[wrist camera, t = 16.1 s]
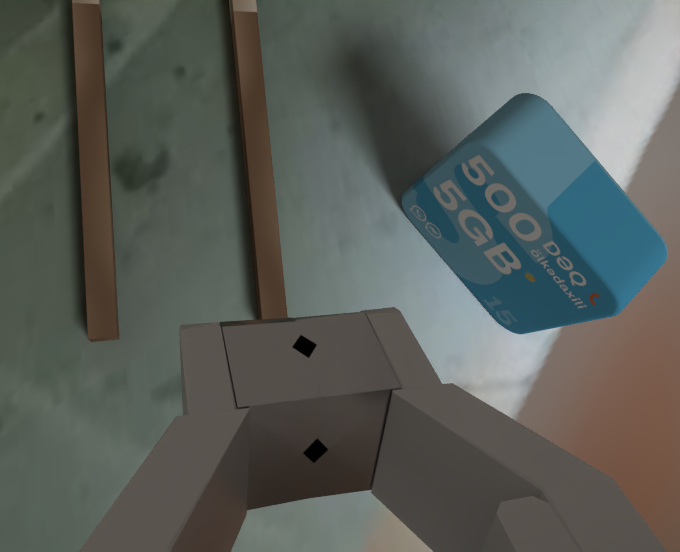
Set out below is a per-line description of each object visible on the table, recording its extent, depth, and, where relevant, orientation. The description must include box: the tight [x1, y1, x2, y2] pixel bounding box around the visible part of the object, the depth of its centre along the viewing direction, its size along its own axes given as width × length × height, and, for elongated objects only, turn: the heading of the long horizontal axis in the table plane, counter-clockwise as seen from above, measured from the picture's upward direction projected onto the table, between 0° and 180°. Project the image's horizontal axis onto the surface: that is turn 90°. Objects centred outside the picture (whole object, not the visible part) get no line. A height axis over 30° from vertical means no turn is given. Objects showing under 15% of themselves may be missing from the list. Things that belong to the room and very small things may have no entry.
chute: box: [72, 0, 288, 342], centre depth 38 cm, size 11×23×2 cm, turn 6°
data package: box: [401, 93, 668, 334], centre depth 38 cm, size 12×4×12 cm, turn 42°
